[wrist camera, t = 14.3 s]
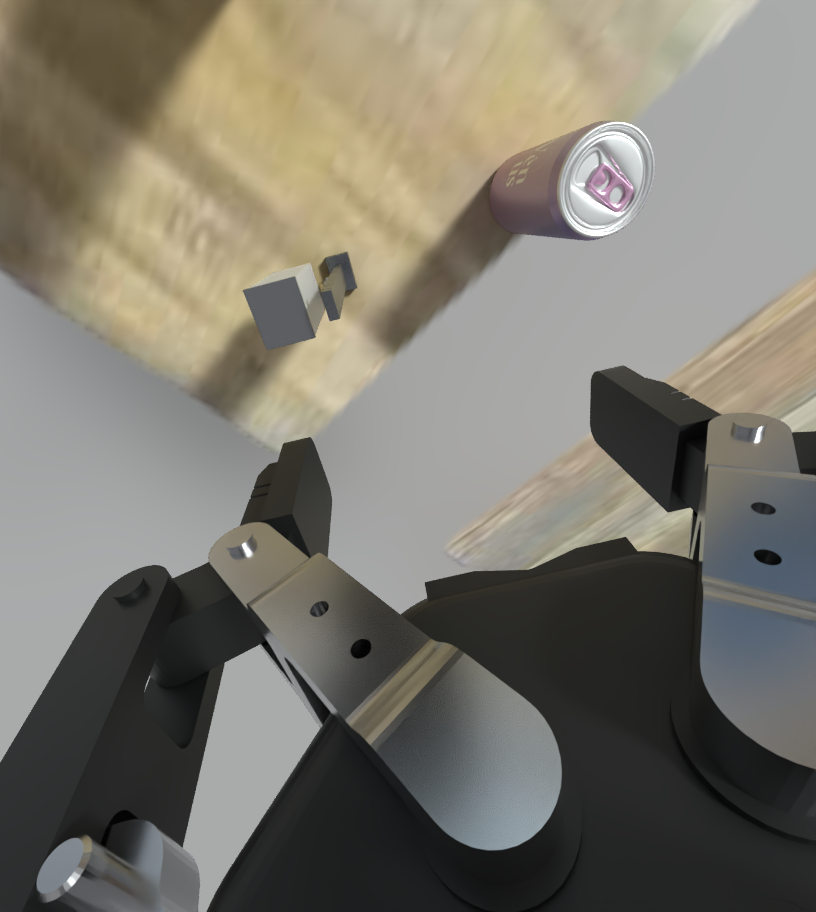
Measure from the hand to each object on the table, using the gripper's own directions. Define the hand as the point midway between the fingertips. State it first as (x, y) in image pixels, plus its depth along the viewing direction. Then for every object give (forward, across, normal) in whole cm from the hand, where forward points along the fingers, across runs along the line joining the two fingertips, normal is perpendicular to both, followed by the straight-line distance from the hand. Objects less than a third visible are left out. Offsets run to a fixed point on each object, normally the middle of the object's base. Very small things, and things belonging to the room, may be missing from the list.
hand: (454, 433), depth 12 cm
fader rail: (+32, +4, -1) cm, 32 cm away
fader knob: (+26, +7, -1) cm, 27 cm away
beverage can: (+32, -13, -4) cm, 35 cm away
